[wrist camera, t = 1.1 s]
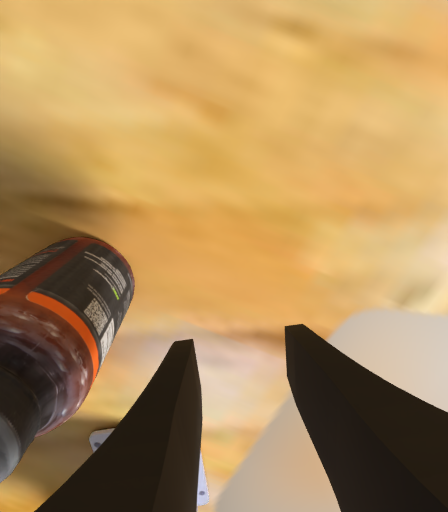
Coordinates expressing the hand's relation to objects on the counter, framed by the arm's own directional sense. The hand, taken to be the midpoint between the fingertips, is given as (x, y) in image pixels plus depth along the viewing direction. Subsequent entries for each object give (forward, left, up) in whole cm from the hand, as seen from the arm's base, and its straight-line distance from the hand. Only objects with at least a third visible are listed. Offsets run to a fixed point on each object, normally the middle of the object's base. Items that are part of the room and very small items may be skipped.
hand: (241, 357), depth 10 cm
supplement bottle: (0, +9, -10) cm, 13 cm away
